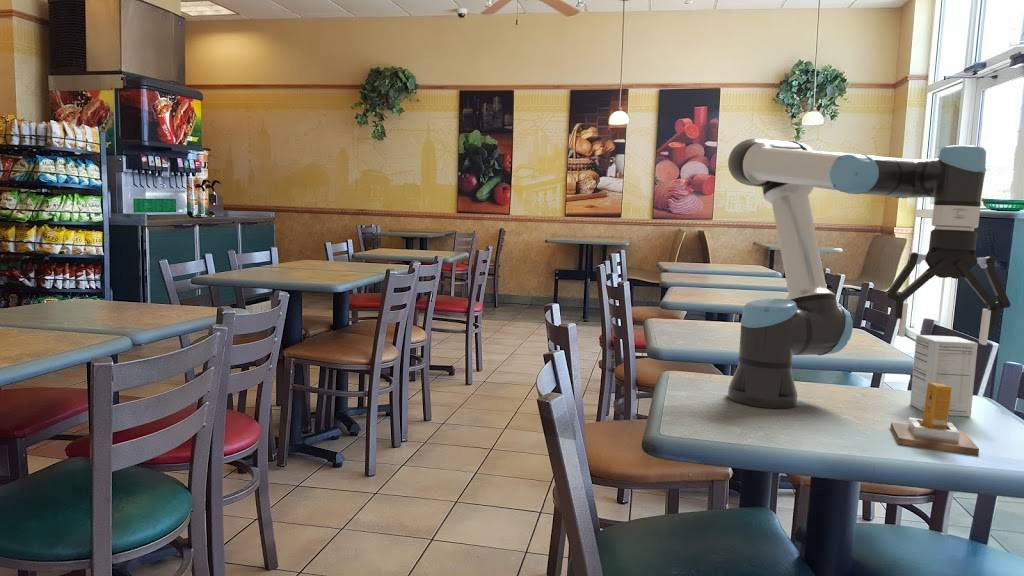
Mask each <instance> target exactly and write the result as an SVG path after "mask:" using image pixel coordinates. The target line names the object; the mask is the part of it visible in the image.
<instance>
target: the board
mask: <svg viewBox="0 0 1024 576" xmlns="http://www.w3.org/2000/svg"><path fill="white" fill-rule="evenodd" d="M908 424H909V423H908ZM908 424H907V423H899V422H894V421H892V422H890V430H891V432H892V434H893V436H894V438H895V440H896V442H897V444H898V445H900V446H901V445H903V446H910V447H917V448H924V449H931V450H937V451H938V450H939V451H944V450H945V452H952V453H961V454H967V455H973V456H979V451H980V448H979V447H978V446H977V444H976V443H975V442H974V441H973V440H972V439H971V437H970V436H969V435H968V433H966V432H965V431H961V430H960V431H959V430H958V431H959V432H960V436H959V443H954V442H947V441H940V440H932V439H925V438H918V437H914V436H913V435H912V433H911V431H910V429H909V428H908Z"/></svg>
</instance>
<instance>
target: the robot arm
mask: <svg viewBox="0 0 1024 576" xmlns="http://www.w3.org/2000/svg"><path fill="white" fill-rule="evenodd" d="M986 160H987V152H986V149H985V148H984V147H982V146H980V145H968V144H967V145H963V144H961V145H947V146H943V147H941V149H940V151H939V155H938V156H937V158H927V159H926V158H924V159H911V158H902V157H901V158H900V157H889V156H880V155H873V154H870V155H869V154H864V153H854V152H853V153H845V152H832V151H819V150H814V149H813V148H812V147H810V146H809V145H808V144H805V143H800V142H798V141H793V140H789V141H784V140H773V139H767V138H766V139H764V138H748V139H745V140H743V141H741V142H739V143H738V144H736V145H735V146H734V147H733V149H732V150H731V152H730V154H729V156H728V159H727V167H728V171H729V173H730V175H731V176H732V178H733V179H735V181H737V182H738V183H740V184H743V185H746V186H750V187H761V188H762V193H763V199H764V200H765V201H767V202H768V203H770V204H771V206H772V211H773V217H774V221H775V227H776V232H777V233H776V234H777V238H778V243H779V248H780V255H781V260H782V265H783V271H784V276H785V281H786V287H787V293H788V296H787V297H786V298H785V299H784V298H762V299H757V300H756V299H755V300H752V301H749V302H747V303H746V304H745V305H744V306H743V309H742V313H741V314H742V315H741V318H740V337H739V338H740V339H739V349H738V362H737V367H736V369H735V371H734V374H733V375H732V378H731V381H730V383H729V385H728V389H727V391H728V392H727V397H728V398H729V399H730V400H732V401H734V402H735V403H740V404H744V405H747V406H751V407H752V406H753V407H758V408H765V409H767V408H768V409H790V408H794V407H796V406H797V405H798V393H797V392H798V391H797V387H796V385H795V380H794V376H793V372H792V368H793V367H792V366H793V365H792V364H793V357H794V356H807V355H808V356H811V355H812V356H813V355H815V356H824V355H831V354H837V353H838V352H840V351H841V350H843V349H844V348H845V347H846V346H847V345H848V342H849V341H850V339H851V337H852V334H853V328H854V327H853V319H852V316H851V314H850V312H849V310H846V307H843V306H841V305H839V304H838V302H837V297H836V294H835V293H834V292H832V291H831V290H829V289H828V288H827V284H826V283H827V282H826V277H825V273H824V272H825V271H824V268H823V262H822V258H821V252H820V248H819V243H818V239H817V233H816V229H815V223H814V219H813V213H812V209H811V203H810V198H809V195H810V194H811V193H812V191H813V190H814V188H817V189H825V190H830V191H831V190H833V191H838V192H841V193H845V194H848V195H849V194H850V195H870V196H871V195H874V196H885V197H890V198H895V199H911V198H913V199H914V198H934V199H933V200H934V201H933V211H932V219H931V226H932V227H934V229H931V231H930V235H929V245H928V251H927V253H926V254H922V253H917V252H915V251H911V252H910V253H909V254H908V259H907V262H906V264H905V265H904V267H903V268H902V270H901V271H900V272H899V274H898V275H897V277H896V279H895V280H894V281H893V283H892V284H891V286H890V287H889V288H888V290H887V291H886V293H885V296H886V297H887V298H888V299H891V300H893V301H894V302H895V303H894V304H895V305H894V315H893V316H894V318H895V320H896V319H898V320H899V325H898V334H897V335H898V336H899V337H902V338H903V337H905V336H906V335H905V334H906V328H907V327H906V325H907V317H908V308H909V303H908V302H906V300H907V299H908V298H909V297H911V296H912V295H913V294H915V292H916V291H918V290H919V289H920V288H921V287H922V286H924V285H925V284H926V283H927V282H928V281H930V280H931V279H933V278H934V277H935V276H936V277H938V278H939V279H940V278H943V279H946V278H951V279H957V280H960V279H962V278H963V279H964V280H965V281H966V282H967V283H968V284H969V286H970V287H971V288H972V290H973V291H974V292H975V293H976V294H977V296H978V297H979V298H980V299H981V300H982V301H983V303H984V304H985V306H986V307H987V308H982V311H981V321H980V329H979V336H978V337H979V338H978V344H980V345H982V346H983V345H984V346H987V345H988V337H989V332H990V331H989V329H990V328H995V327H996V324H997V317H998V311H1000V310H1001V309H1002V310H1003V309H1008V308H1010V307H1011V301H1010V300H1009V297H1008V295H1007V293H1006V291H1005V289H1004V286H1003V284H1002V282H1001V279H1000V278H999V275H998V273H997V270H996V261H995V257H992V256H985V257H977V256H976V249H977V239H978V233H977V231H975V229H977V228H978V227H979V224H980V214H981V213H980V211H981V204H982V203H981V201H982V193H983V187H984V182H985V178H986V177H985V175H986V172H987V169H986V164H987V162H986ZM922 261H925V263H926V265H927V266H928V268H927V269H926V270H925V271H924V272H923V273H921V274H920V276H918V277H917V278H916V279H914V281H912V282H911V284H909V285H908V286H907V287H906V288H904V289H903V290H902V291H901V292H899V290H900V289H901V287H902V286H903V285H904V283H905V282H906V281H907V279H908V278H909V276H910V275H911V274H912V272H913V271H914V269H915V268H916V266H917V265H920V264H921V263H922ZM977 264H978V265H979V267H980V269H984V273H985V275H986V277H987V280H988V281H989V284H990V286H991V289H992V290H993V292H994V293H993V294H994V295H995V298H996V299H997V301H995V300H994V299H993V298H992V296H991V295H990V293H988V291H987V290H986V289H985V287H984V286H983V285H982V284H981V283H980V282H979V280H978V279H977V277H976V276H975V275H974V273H973V272H972V271H971V270H972V269H973V268H974V267H975V266H976V265H977ZM898 292H899V293H898ZM897 293H898V294H897Z"/></svg>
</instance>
